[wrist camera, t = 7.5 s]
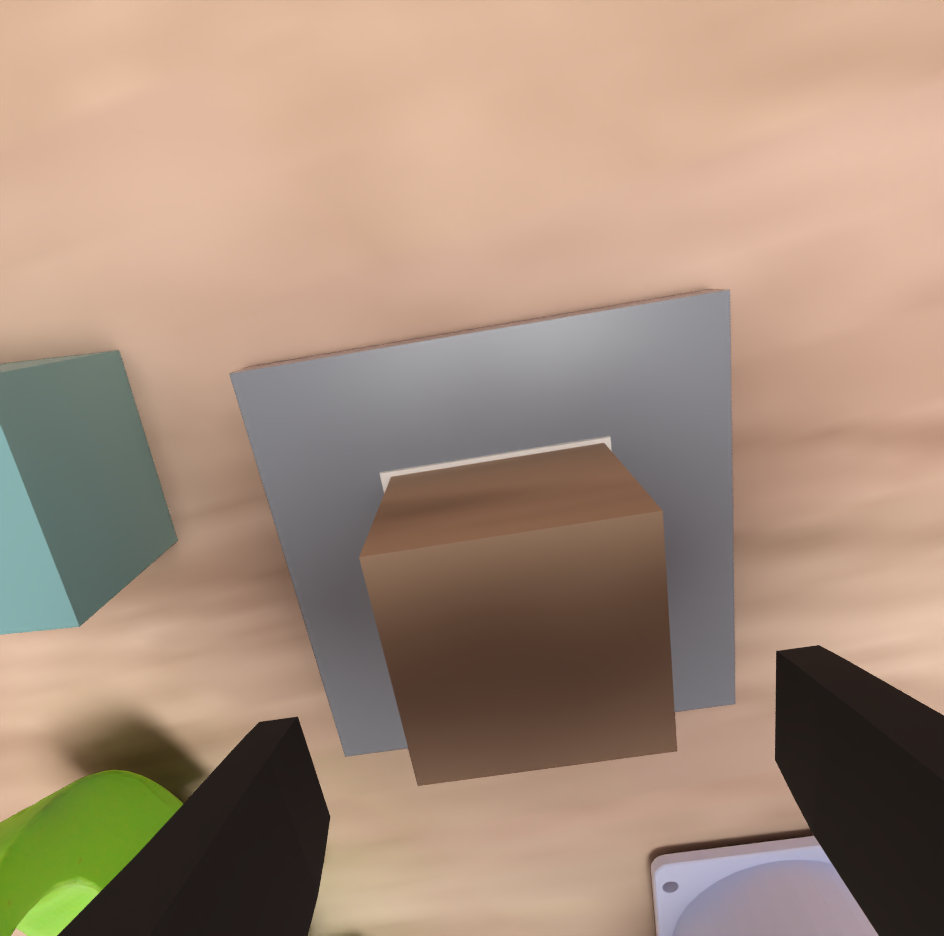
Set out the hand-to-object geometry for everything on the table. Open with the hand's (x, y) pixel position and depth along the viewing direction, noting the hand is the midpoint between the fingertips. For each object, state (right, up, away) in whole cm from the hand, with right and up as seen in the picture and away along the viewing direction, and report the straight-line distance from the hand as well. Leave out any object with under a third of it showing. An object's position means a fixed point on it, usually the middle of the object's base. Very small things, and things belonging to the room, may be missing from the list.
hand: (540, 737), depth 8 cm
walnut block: (0, +2, +5) cm, 6 cm away
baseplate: (0, +2, +6) cm, 7 cm away
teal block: (-12, +4, +6) cm, 14 cm away
